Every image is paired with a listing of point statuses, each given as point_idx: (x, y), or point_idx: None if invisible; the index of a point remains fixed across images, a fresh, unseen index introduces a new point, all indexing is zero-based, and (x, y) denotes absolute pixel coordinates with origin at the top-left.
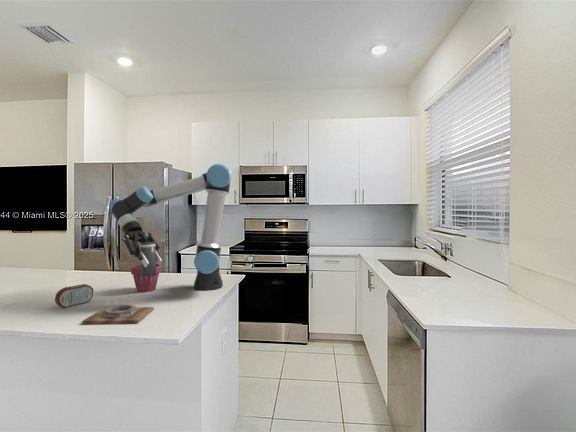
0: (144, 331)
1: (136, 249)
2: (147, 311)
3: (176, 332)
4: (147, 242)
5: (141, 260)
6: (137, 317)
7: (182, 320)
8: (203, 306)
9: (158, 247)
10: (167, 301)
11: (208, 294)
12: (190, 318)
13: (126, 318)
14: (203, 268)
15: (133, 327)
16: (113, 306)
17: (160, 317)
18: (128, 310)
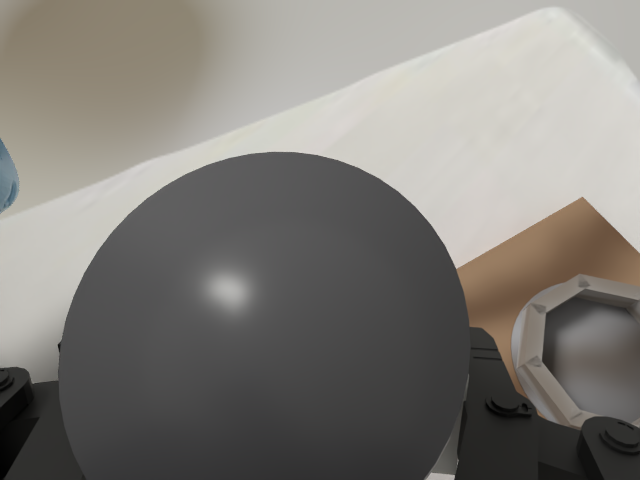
0: (603, 119)
1: (534, 473)
2: (480, 261)
3: (531, 39)
4: (189, 419)
5: None
6: (564, 228)
7: (438, 98)
8: (259, 148)
9: (7, 374)
10: None
11: (66, 261)
12: (405, 91)
13: (609, 259)
14: (2, 155)
15: (613, 182)
16: None
17: (466, 187)
18: (594, 277)
